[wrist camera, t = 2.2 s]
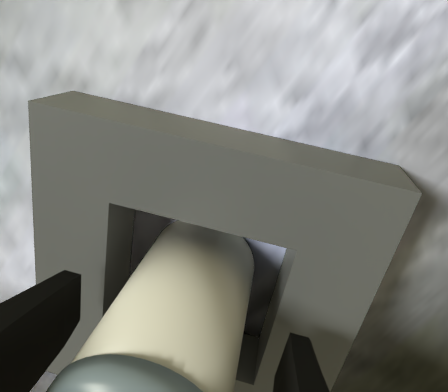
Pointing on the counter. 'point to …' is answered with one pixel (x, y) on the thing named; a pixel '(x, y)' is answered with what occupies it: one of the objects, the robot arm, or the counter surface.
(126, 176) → the housing
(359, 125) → the counter surface
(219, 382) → the cartridge
